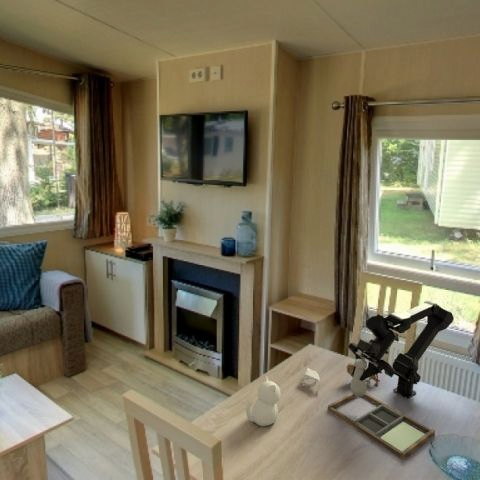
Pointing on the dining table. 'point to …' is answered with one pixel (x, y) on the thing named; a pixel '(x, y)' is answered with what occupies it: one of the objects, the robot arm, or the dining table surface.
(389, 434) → the pad
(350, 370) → the lion figurine
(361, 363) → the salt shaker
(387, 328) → the robot arm
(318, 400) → the dining table surface
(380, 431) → the trap pits
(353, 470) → the dining table surface
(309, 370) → the origami figure
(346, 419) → the wooden frame
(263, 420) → the cat figurine
